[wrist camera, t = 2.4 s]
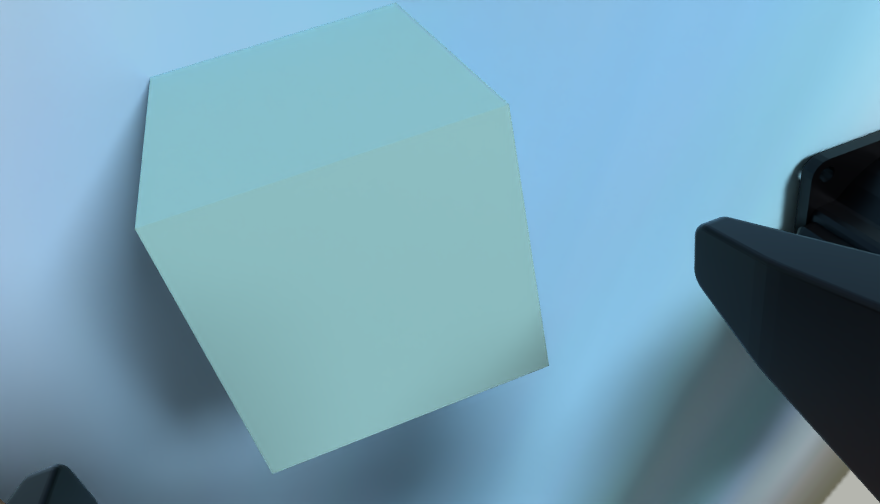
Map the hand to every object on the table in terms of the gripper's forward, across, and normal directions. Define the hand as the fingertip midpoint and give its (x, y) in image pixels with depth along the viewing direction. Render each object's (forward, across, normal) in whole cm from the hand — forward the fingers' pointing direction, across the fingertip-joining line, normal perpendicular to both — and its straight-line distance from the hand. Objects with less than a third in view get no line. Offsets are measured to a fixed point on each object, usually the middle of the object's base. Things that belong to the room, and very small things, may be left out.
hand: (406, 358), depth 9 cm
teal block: (+7, 0, 0) cm, 7 cm away
